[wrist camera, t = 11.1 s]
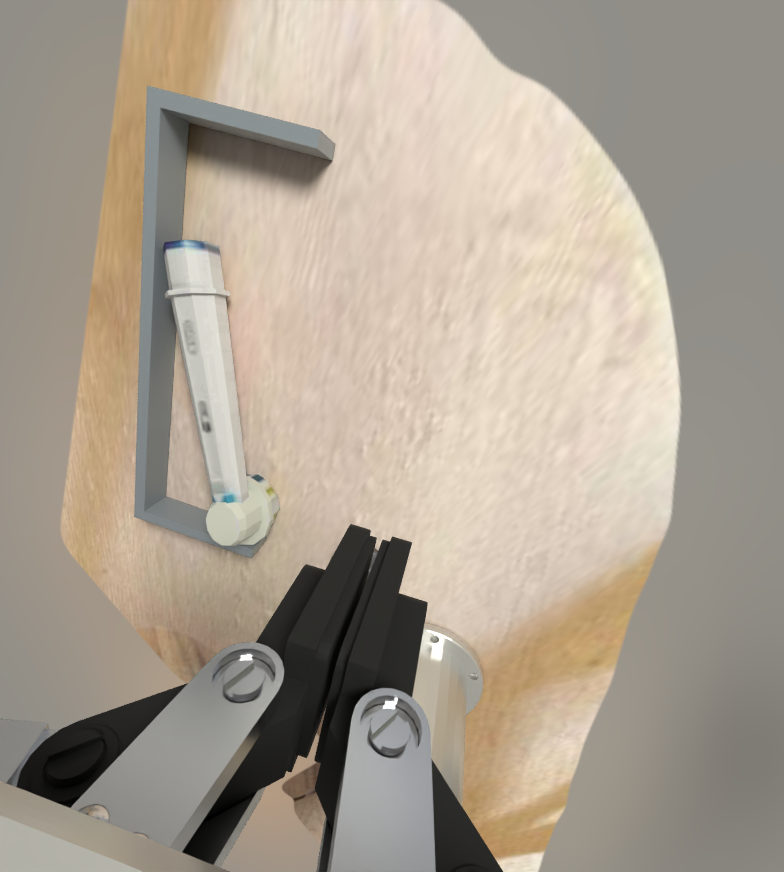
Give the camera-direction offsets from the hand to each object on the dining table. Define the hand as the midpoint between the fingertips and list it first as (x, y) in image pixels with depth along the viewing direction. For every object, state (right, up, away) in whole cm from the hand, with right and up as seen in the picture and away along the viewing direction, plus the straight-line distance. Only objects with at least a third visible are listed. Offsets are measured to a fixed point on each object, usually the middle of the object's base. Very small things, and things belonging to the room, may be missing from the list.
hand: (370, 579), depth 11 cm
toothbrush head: (-13, +7, +27) cm, 31 cm away
